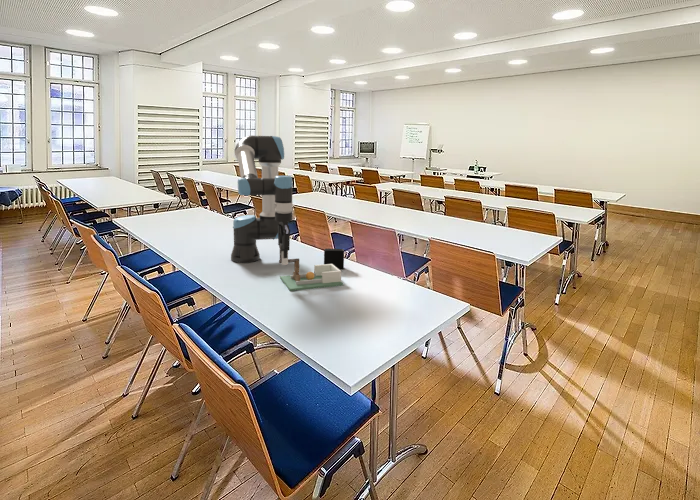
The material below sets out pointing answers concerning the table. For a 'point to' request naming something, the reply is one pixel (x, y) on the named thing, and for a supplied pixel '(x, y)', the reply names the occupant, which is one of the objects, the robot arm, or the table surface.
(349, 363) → the table surface
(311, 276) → the ball
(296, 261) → the striker
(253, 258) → the robot arm
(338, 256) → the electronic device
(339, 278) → the pitch
